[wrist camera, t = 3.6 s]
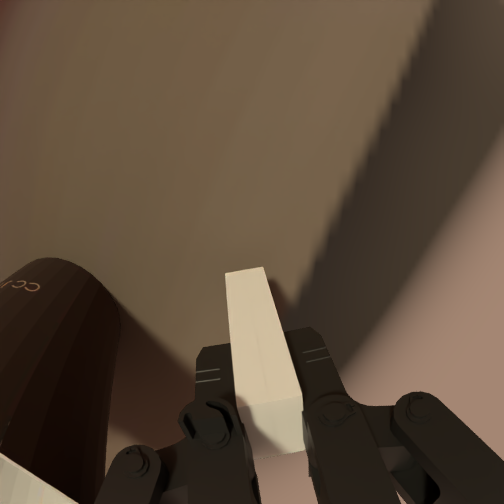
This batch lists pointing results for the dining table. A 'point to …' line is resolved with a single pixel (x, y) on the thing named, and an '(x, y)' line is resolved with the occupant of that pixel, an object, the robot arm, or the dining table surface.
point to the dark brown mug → (55, 383)
